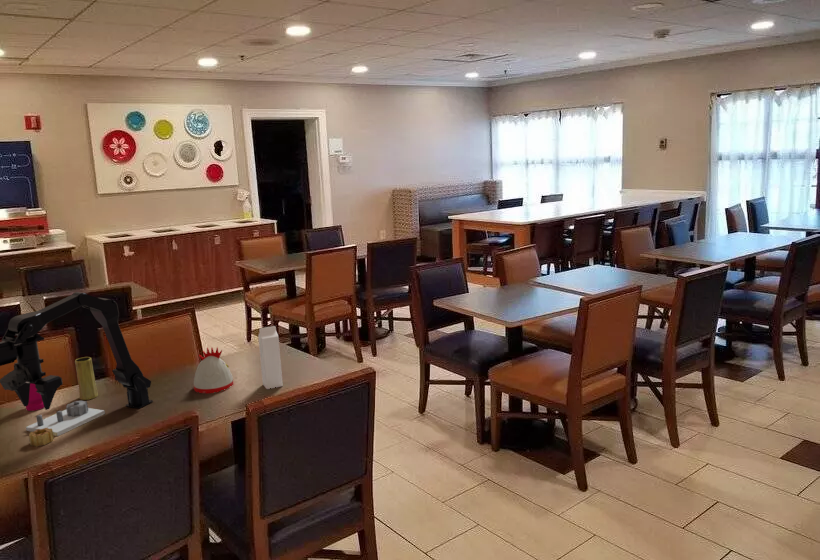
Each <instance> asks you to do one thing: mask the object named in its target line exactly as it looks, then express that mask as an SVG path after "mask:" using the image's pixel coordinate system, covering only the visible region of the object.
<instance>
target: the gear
mask: <svg viewBox="0 0 820 560" xmlns="http://www.w3.org/2000/svg"><path fill="white" fill-rule="evenodd" d="M54 437H55V436H54V435H53V431H52V428H51V429H48V428H44V429H37V430H36V431H34V432H32V431H29V434H28V439H29V444H30V446H31V447H33V446H34V447H35V448H36V447H37V448H38V447H39V446H46V445H48V444H49V443H52V442H54Z"/></svg>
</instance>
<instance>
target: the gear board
mask: <svg viewBox="0 0 820 560" xmlns="http://www.w3.org/2000/svg"><path fill="white" fill-rule="evenodd" d="M87 401H88V400H74V401H73V402H71V403H68V404H66V406H65V408H66V409H64V410H58V411H56V413H55V414H53V415H50V416H47V417H46V418H43V415H42V414H37V415H36V422H34V423H32V424H29V425H28V426H26V427H25V430H26V431H28V432H34V431H36V430H37V429H44V428H48V429H51V428H52V431H53V437H59V436H61V435H63V434H65V433H67V432H69V431H72V430H74V429H76V428H78V427H80V426H82V425H84V424H86V423H89V422H91V421H92V420H94V419H97V418H99V417H102V416H103V415H105V414H106V412H105V410H104V409H99V408H98V409H97V408H91V407H88V402H87Z"/></svg>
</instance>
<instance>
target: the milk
mask: <svg viewBox="0 0 820 560" xmlns="http://www.w3.org/2000/svg"><path fill="white" fill-rule="evenodd" d="M258 331H259V332H258V335H257V337H258V348H259V358H260V368H261V369H260V370H261V377H262V378H261V379H262V380H261V381H262V385H263V386H264V388H265V389H266V390H271V389H275V387H276V388H279V387H283V386H284V384H283V373H282V361H281V350H280V338H279V334H278V332H277V327H276V325H273V326H265V327H261V328H259V329H258ZM270 388H271V389H270Z"/></svg>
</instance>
